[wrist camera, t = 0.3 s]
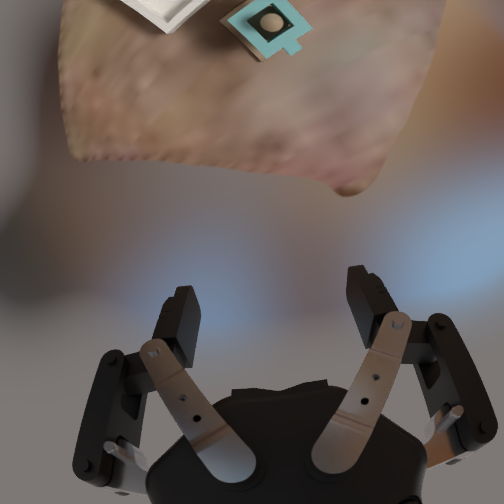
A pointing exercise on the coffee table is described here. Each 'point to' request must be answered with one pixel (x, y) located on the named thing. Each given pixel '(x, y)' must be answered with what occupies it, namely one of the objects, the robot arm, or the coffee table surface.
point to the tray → (167, 11)
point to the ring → (281, 39)
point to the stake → (258, 26)
